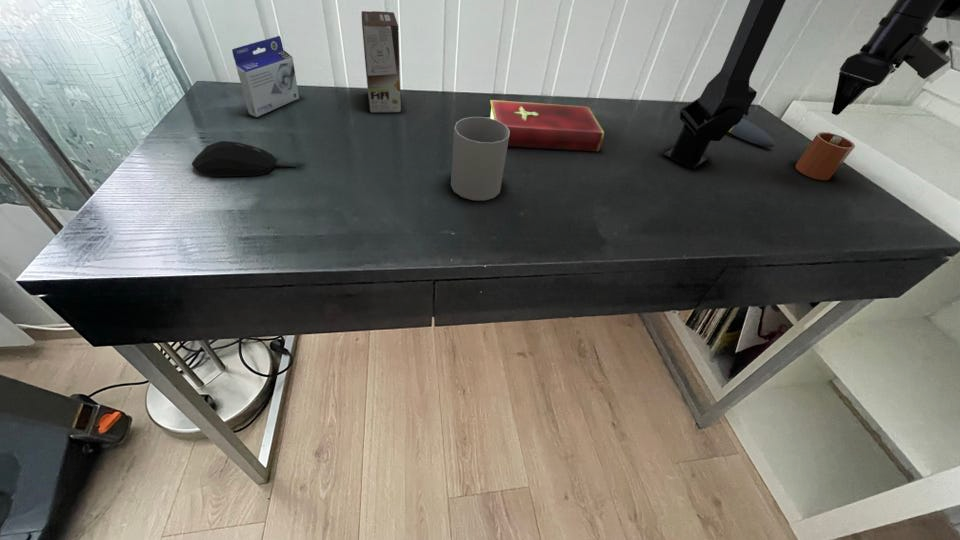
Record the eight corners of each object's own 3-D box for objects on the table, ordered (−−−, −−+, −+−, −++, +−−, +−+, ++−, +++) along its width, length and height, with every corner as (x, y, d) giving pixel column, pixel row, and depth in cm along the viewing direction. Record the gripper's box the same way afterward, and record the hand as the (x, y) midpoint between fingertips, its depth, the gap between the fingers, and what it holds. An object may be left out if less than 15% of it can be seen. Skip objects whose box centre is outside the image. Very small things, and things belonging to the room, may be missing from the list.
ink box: (257, 118, 78) (239, 52, 70) (248, 115, 79) (228, 49, 71) (301, 98, 86) (289, 37, 78) (292, 95, 87) (279, 34, 79)
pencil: (817, 171, 85) (841, 140, 80) (809, 168, 86) (832, 136, 81) (819, 169, 86) (843, 138, 81) (811, 166, 87) (834, 134, 82)
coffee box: (401, 112, 86) (399, 25, 75) (370, 113, 85) (362, 24, 73) (397, 94, 92) (394, 11, 81) (367, 94, 91) (360, 9, 80)
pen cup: (825, 183, 83) (850, 152, 78) (790, 169, 86) (813, 137, 81) (833, 173, 87) (858, 142, 82) (800, 159, 90) (822, 129, 85)
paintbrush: (775, 145, 94) (789, 124, 90) (769, 152, 91) (783, 130, 87) (691, 113, 102) (700, 92, 99) (683, 118, 99) (692, 98, 96)
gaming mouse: (293, 177, 66) (288, 154, 63) (189, 177, 63) (178, 154, 61) (298, 157, 71) (294, 134, 68) (201, 156, 68) (192, 133, 65)
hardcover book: (598, 152, 83) (605, 132, 80) (494, 146, 80) (496, 125, 77) (583, 124, 91) (588, 105, 88) (488, 118, 89) (490, 98, 86)
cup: (506, 180, 72) (516, 125, 65) (492, 205, 66) (501, 148, 59) (461, 167, 73) (465, 112, 66) (443, 191, 68) (446, 133, 61)
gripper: (966, 36, 58) (879, 139, 69) (976, 23, 69) (899, 115, 79) (877, 13, 64) (808, 113, 74) (899, 4, 74) (836, 93, 85)
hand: (841, 108), depth 78 cm, fingers open, 9 cm apart
